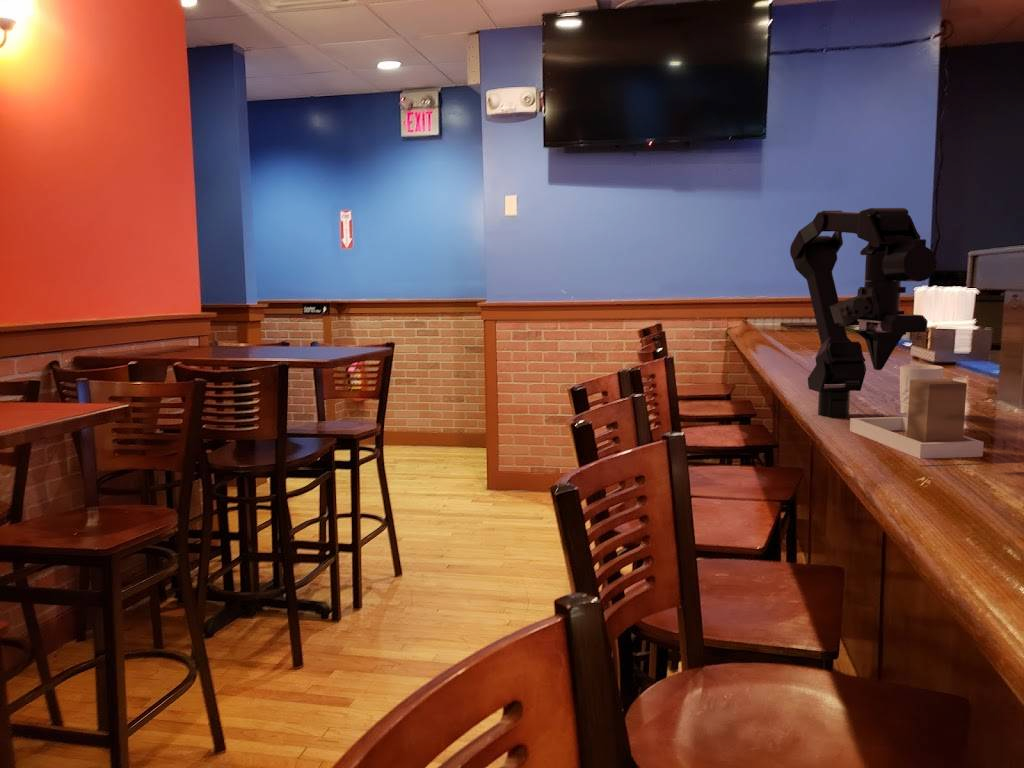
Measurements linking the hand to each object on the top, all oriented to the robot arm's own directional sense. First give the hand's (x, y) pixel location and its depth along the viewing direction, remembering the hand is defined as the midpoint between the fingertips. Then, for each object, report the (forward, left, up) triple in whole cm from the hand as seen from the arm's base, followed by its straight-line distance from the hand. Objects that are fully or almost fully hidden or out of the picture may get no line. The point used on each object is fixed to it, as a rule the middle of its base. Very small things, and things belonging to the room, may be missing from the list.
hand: (877, 369), depth 138 cm
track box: (+11, +2, -12) cm, 16 cm away
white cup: (-21, +16, -12) cm, 29 cm away
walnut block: (+17, +3, -11) cm, 20 cm away
